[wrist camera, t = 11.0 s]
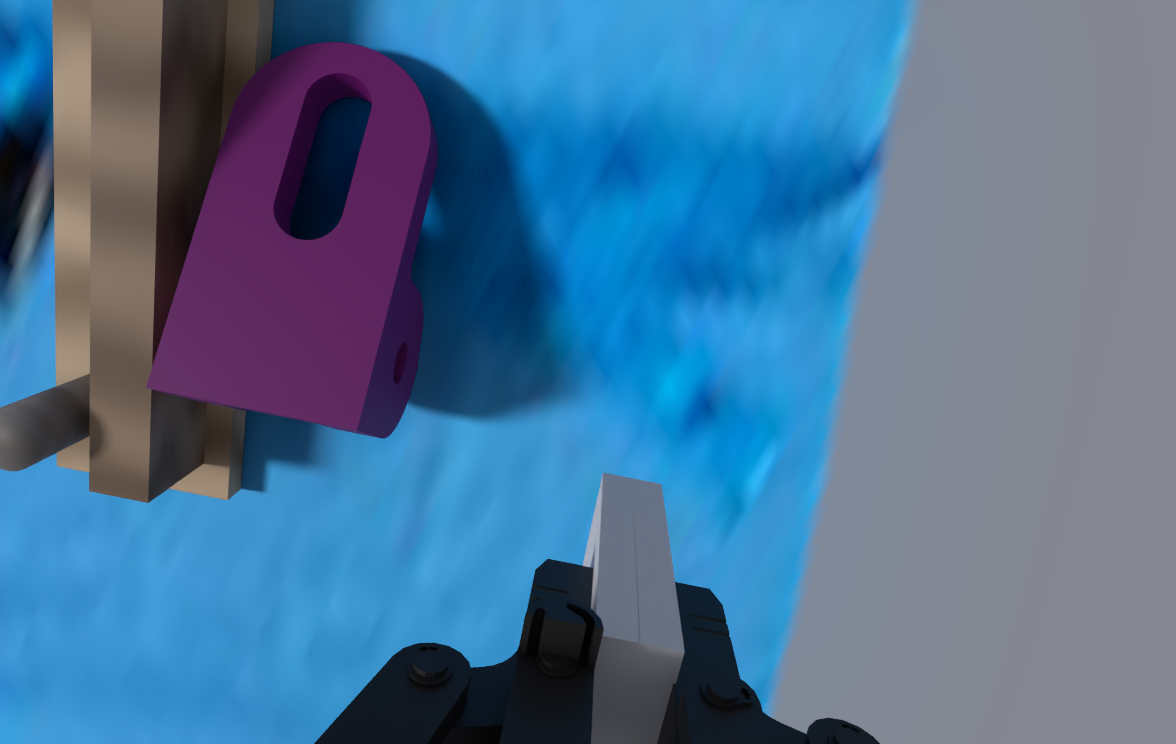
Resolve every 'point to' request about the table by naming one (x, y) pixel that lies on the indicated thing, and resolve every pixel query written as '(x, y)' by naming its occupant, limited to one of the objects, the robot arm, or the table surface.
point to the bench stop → (134, 238)
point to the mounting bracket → (307, 254)
